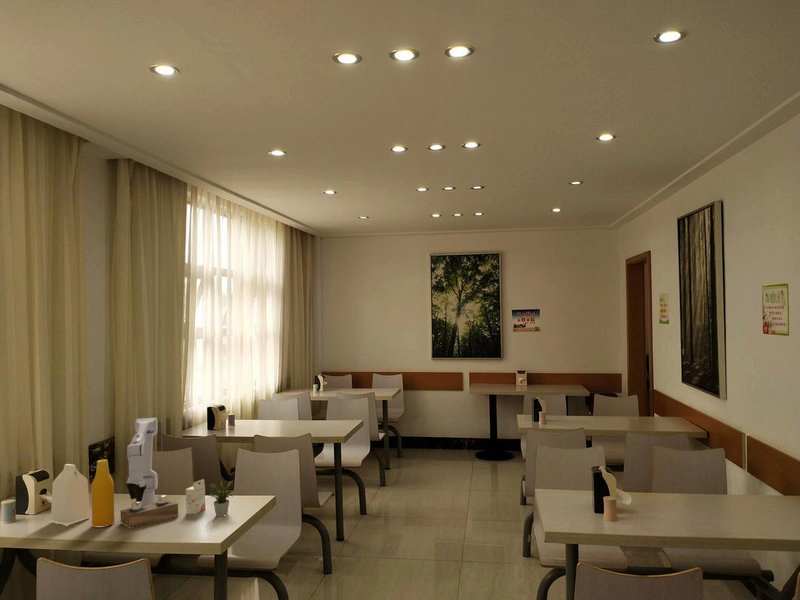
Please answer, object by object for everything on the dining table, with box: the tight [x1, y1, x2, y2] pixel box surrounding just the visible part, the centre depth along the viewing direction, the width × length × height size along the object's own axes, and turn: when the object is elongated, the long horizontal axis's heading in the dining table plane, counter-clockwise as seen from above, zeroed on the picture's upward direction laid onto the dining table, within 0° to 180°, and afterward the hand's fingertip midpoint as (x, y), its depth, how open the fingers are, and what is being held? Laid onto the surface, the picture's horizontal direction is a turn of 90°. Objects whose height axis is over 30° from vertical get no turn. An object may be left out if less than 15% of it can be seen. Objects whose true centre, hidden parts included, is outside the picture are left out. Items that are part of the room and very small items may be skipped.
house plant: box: [207, 479, 233, 517], centre depth 281 cm, size 14×14×16 cm
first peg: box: [131, 500, 141, 512], centre depth 273 cm, size 4×4×6 cm
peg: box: [157, 494, 168, 506], centre depth 282 cm, size 4×4×6 cm
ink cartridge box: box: [185, 478, 206, 515], centre depth 288 cm, size 9×5×15 cm, turn 161°
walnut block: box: [120, 498, 179, 529], centre depth 278 cm, size 11×22×6 cm, turn 135°
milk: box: [50, 463, 91, 523], centre depth 281 cm, size 12×12×26 cm
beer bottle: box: [91, 459, 116, 527], centre depth 273 cm, size 9×9×29 cm
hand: (136, 500), depth 274 cm, fingers open, 6 cm apart
